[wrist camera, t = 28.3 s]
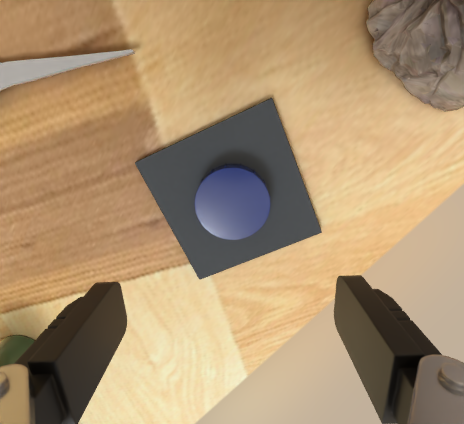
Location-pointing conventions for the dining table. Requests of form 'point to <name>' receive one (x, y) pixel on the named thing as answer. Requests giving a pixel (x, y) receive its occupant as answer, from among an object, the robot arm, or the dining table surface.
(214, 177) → the jar lid
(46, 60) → the scissors
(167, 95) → the dining table surface
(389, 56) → the rock
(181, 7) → the dining table surface
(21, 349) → the jar
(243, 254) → the mat
